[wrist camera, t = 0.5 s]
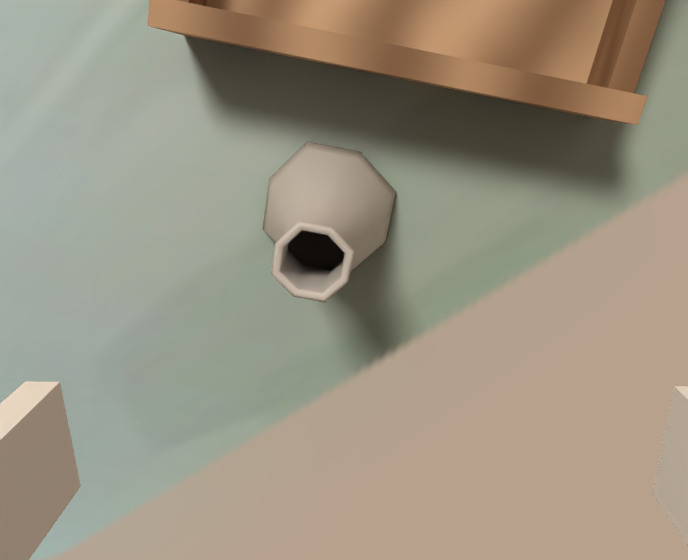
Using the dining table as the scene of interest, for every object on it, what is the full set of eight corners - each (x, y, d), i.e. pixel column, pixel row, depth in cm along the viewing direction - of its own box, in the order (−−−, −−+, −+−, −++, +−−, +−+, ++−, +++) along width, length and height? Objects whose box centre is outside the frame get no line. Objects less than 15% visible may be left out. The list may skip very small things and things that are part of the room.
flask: (353, 292, 33) (348, 376, 24) (242, 233, 32) (189, 296, 23) (418, 184, 31) (441, 228, 21) (300, 117, 30) (269, 132, 20)
